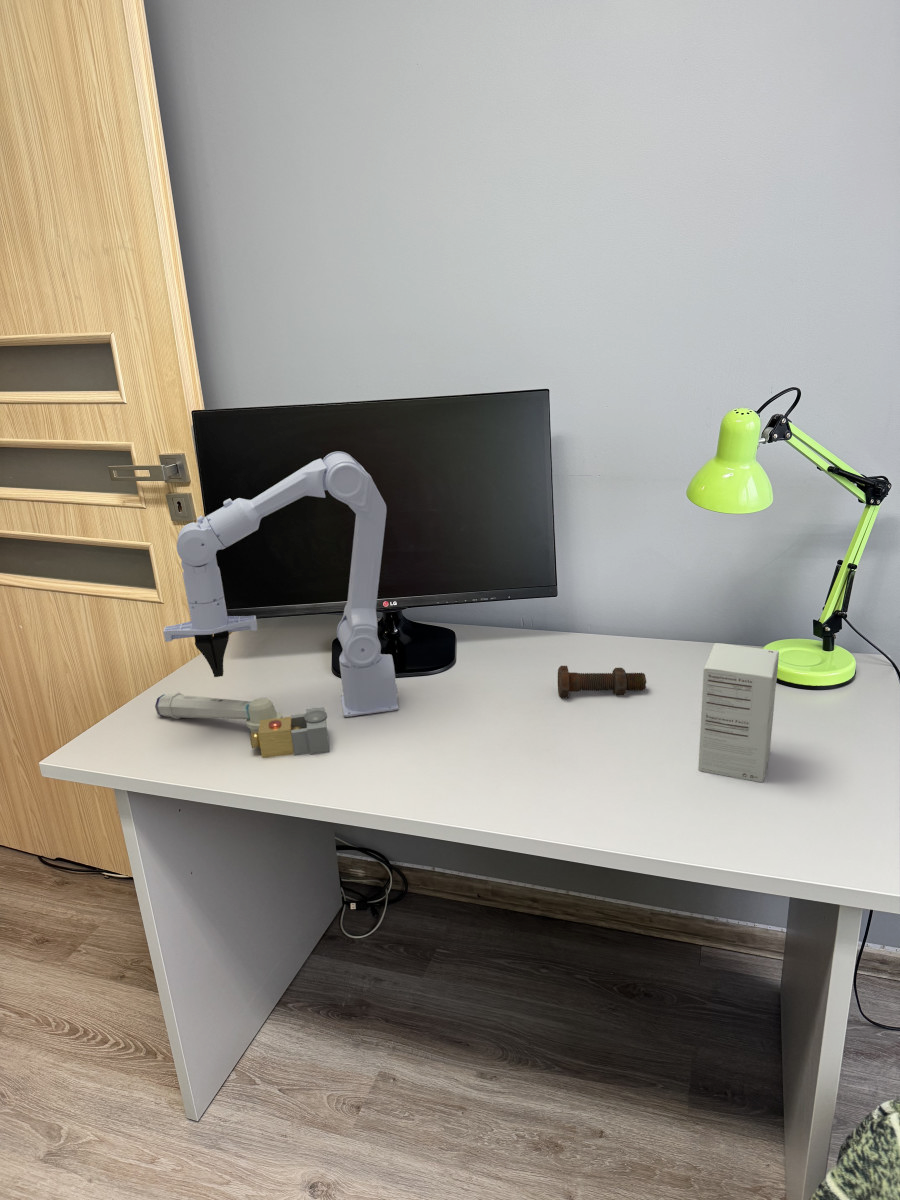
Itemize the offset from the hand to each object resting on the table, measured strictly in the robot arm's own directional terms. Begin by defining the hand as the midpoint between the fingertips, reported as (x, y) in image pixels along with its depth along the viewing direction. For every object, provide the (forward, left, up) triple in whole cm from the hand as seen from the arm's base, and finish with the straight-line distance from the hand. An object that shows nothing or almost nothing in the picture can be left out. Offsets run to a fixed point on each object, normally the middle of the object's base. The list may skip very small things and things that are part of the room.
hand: (218, 674), depth 138 cm
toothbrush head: (+1, -2, -11) cm, 11 cm away
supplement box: (-76, +32, -10) cm, 83 cm away
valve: (-9, +9, -10) cm, 16 cm away
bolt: (-65, +6, -11) cm, 66 cm away
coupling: (-14, +9, -10) cm, 20 cm away
